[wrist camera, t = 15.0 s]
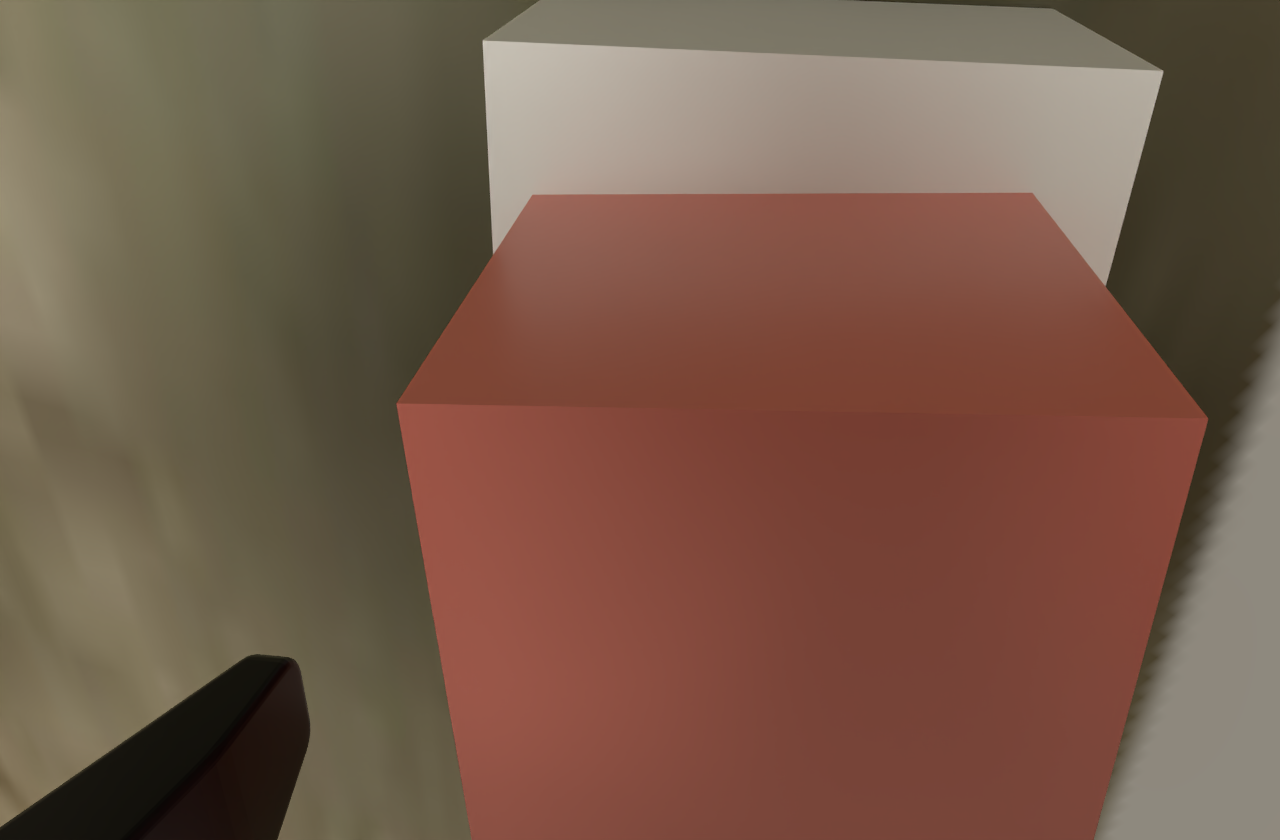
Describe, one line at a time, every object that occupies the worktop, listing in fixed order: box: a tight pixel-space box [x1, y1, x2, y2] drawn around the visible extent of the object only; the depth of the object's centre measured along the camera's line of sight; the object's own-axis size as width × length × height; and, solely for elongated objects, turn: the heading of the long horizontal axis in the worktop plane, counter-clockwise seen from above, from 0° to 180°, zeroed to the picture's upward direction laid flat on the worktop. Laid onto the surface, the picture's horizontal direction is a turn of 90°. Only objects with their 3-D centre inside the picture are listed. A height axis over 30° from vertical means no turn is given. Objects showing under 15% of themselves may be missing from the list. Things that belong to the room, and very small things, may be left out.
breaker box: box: [483, 0, 1164, 287], centre depth 15 cm, size 10×7×4 cm
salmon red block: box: [396, 193, 1208, 840], centre depth 11 cm, size 7×6×5 cm
